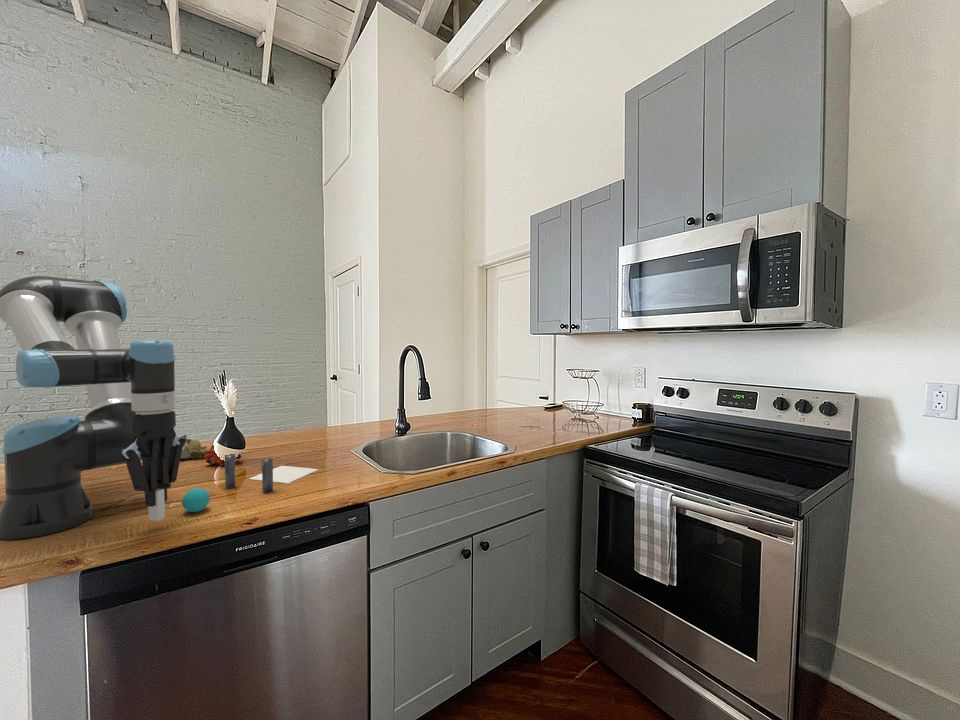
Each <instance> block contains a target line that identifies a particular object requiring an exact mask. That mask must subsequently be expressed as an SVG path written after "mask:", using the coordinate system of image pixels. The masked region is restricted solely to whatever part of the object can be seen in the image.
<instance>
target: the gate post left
mask: <svg viewBox="0 0 960 720" xmlns="http://www.w3.org/2000/svg"><path fill="white" fill-rule="evenodd" d="M236 473H237V471H236V460H235V454H230V455H225V465H224V488H225V489H226V490H228V489H229V490H230V489H234V488H236V486H237V485H236V484H237V483H236V482H237V481H236V480H237V479H236V478H237V476H236Z"/></svg>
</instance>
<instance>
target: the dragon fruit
mask: <svg viewBox="0 0 960 720" xmlns="http://www.w3.org/2000/svg"><path fill="white" fill-rule="evenodd" d="M214 445H215V444H214ZM214 445H211V447H210V448H209V449H206V450H207V451H206V452H204V453H203V454H202V456H201V457H200V459H203V458H204V459H205V460H204V462H205V463H206V464H209V465H213V466H219V467H222V466H225V461H224V460H221V459H220V457H218V456H217V454H216V453H215V451H214ZM241 458H242V453H241V454H239V455H238V457H236V458H235V461H237V460H240V459H241Z"/></svg>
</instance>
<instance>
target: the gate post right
mask: <svg viewBox="0 0 960 720" xmlns="http://www.w3.org/2000/svg"><path fill="white" fill-rule="evenodd" d="M273 458H274V457H264V458H261V459H262V460H261V471H262V472H261V474H262V481H261V482H262V483H261V484H262V486H261V487H262V493H263V494H271V493H273V492H274V482H273V469H274V462H273V460H274V459H273Z"/></svg>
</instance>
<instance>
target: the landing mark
mask: <svg viewBox="0 0 960 720" xmlns="http://www.w3.org/2000/svg"><path fill="white" fill-rule="evenodd" d="M317 471H319V468H309V467H299V466H290V465H289V466H288V465H279V466H277V467H275V468H274V467H273V483H277V484H279V483H280V484H287V485H288V484H292V483H293V482H296V481H298V480H300V479H301V478H303V477H306V476H308V475H310V474H311V475H312V474H313V473H315V472H317ZM248 480H251V481H260V482H262V473H259V474H257V475H253V476H251V477H248Z"/></svg>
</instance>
